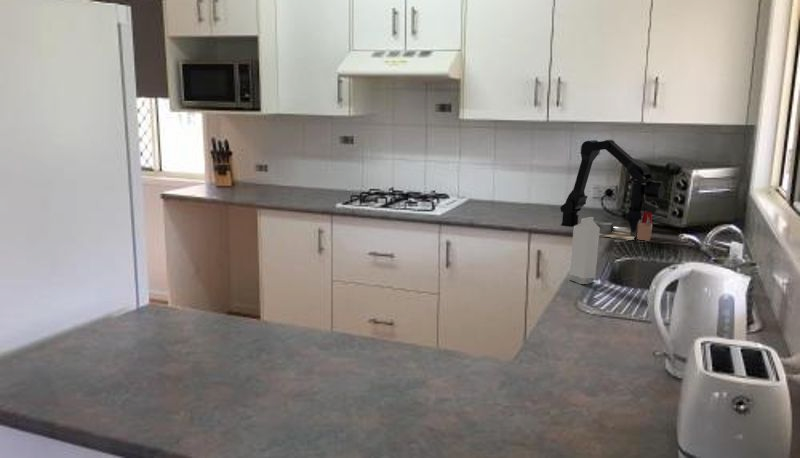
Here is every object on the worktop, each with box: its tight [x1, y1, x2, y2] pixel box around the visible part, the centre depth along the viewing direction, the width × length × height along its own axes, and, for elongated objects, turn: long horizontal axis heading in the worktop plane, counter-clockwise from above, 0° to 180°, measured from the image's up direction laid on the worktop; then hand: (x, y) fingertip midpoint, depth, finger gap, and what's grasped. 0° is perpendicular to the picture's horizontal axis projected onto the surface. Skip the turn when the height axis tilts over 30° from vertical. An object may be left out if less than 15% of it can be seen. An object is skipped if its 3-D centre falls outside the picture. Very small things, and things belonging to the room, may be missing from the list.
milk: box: [569, 216, 600, 280], centre depth 224 cm, size 6×6×22 cm
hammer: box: [611, 223, 638, 237], centre depth 288 cm, size 18×3×6 cm, turn 65°
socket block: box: [636, 222, 653, 242], centre depth 285 cm, size 5×7×6 cm
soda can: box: [638, 211, 653, 225], centre depth 303 cm, size 7×7×12 cm
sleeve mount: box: [593, 220, 637, 241], centre depth 292 cm, size 23×11×5 cm, turn 65°
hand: (633, 231), depth 287 cm, fingers closed on hammer, 3 cm apart
